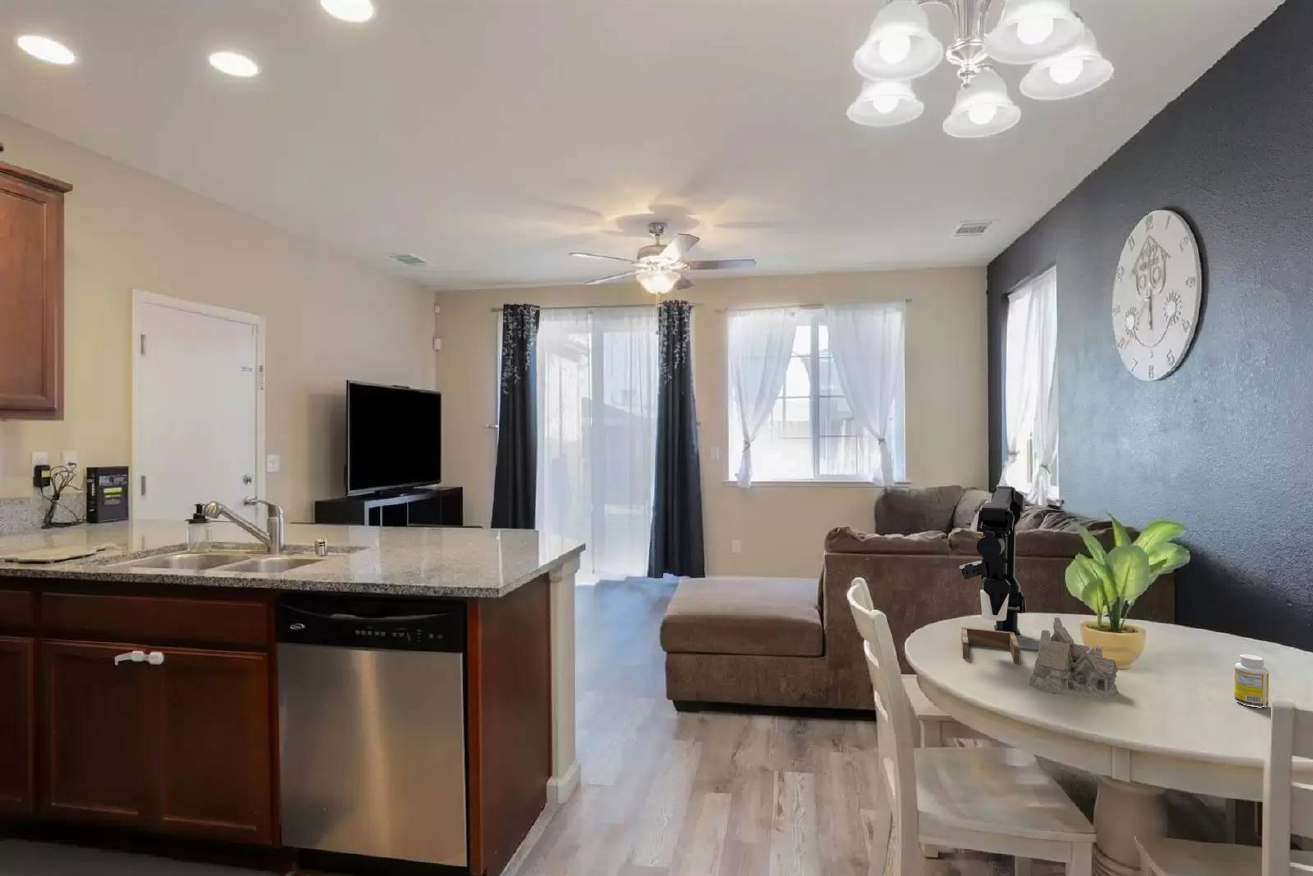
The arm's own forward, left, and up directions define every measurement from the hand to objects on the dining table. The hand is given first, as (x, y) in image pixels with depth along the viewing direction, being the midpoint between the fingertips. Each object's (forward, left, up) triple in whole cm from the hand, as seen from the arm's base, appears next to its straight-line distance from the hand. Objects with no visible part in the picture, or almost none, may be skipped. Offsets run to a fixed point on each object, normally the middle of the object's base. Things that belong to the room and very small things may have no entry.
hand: (994, 612), depth 183 cm
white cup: (0, 0, -2) cm, 2 cm away
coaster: (-10, +10, -11) cm, 18 cm away
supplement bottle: (+17, +49, -11) cm, 53 cm away
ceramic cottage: (+21, +15, -11) cm, 28 cm away
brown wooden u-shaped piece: (+1, -1, -11) cm, 11 cm away
